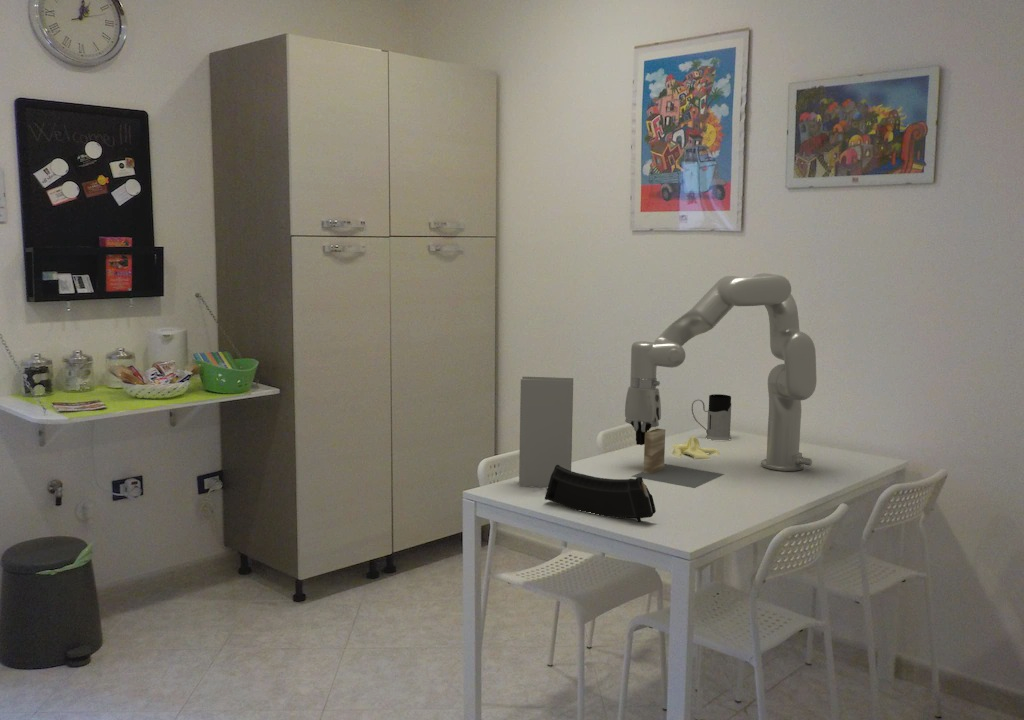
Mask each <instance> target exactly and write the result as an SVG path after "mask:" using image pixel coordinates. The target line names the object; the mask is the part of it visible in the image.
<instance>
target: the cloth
mask: <svg viewBox="0 0 1024 720" xmlns="http://www.w3.org/2000/svg"><path fill="white" fill-rule="evenodd" d="M700 445H701V443H700V441H699V438H698V437H697V436H694V435H693V436H690V438H688V439H687V440H686V441H685V442H684V443H675V444H672V445H670V446H669V447H673V448H674V449H668V450H667V451H671V450H673V452H672V453H673V455H674V456H676V457H680V456H681V457H682V455H685V454H687V455H686V456H689V455H690V456H689V457H692V458H693V457H694V458H693V460H697V459H712V458H711V456H710V455H712V454H715V455H719V456H720V455H721V453H720V450H719V449H717V448H716V447H713V448H712V447H700ZM681 453H683V454H681ZM706 453H709V454H706ZM715 455H714V456H715ZM676 457H675V458H676ZM681 457H680V458H681Z"/></svg>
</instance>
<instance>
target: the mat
mask: <svg viewBox="0 0 1024 720" xmlns="http://www.w3.org/2000/svg"><path fill="white" fill-rule="evenodd" d="M724 475H725V473H720V472H714V471H709V470H703V469H698V468H691V467H685V466H679V465H673V464H669V463H668V464H667V463H664V469H663V470H660V471H658V472H655V473H653V474H648V473H644V470H643V471H641V472H638V473H637V474H634V475H631V477H633V478H637V477H642V479H644V480H649V481H653V482H659V483H665V484H670V485H675V486H682V487H687V488H692V489H696V488H698V487H700V486H702V485H705V484H707V483H709V482H711V481H713V480H716V479H718V478H720V477H722V476H724Z"/></svg>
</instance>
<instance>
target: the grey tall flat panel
mask: <svg viewBox="0 0 1024 720" xmlns="http://www.w3.org/2000/svg"><path fill="white" fill-rule="evenodd" d="M519 403H520V405H519V409H520V410H519V459H518V460H519V461H518V463H519V467H518V471H519V472H518V474H519V476H518V487H528V486H533V487H532V488H534V487H535V488H548V485H549V481H550V478H551V475H552V473H553V471H554V468H555V466H556V465H560V466H561V467H563V468H565V469H567V470H570V471H572V458H573V457H572V455H573V454H572V452H573V416H574V415H573V412H574V411H573V410H574V409H573V408H574V406H573V405H574V377H555V376H553V377H551V376H549V377H548V376H547V377H546V376H545V377H544V376H522V379H520V401H519Z"/></svg>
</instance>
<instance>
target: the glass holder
mask: <svg viewBox="0 0 1024 720" xmlns="http://www.w3.org/2000/svg"><path fill="white" fill-rule="evenodd" d="M698 401H700V402H701V403H702V409H703V411H704V412H705V413H707V423H706V424H707V425H706V426H707V428H706V427H705V426H704V425H702V424H701V423H700V422H699V421H698V420H697V418H696V415H694V404H695V402H698ZM705 408H706V407H705V402H704V401H703V400H701V399H698V398H697V399H694V400H693V401H692V403H691V414H692V417H693V418H694V421H695V422H696V423H697V424H698V425H700V426H701V427H702V429H704V430H705V431H706V435H705V439H706V438H707V439H706V440H708V439H711V440H710V441H713V440H729V439H731V440H732V437H731V419H732V396H731V395H727V394H721V393H717V394H716V393H715V394H713V393H712V394H710V395H708V409H707V410H706V409H705ZM729 441H730V440H729Z"/></svg>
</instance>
